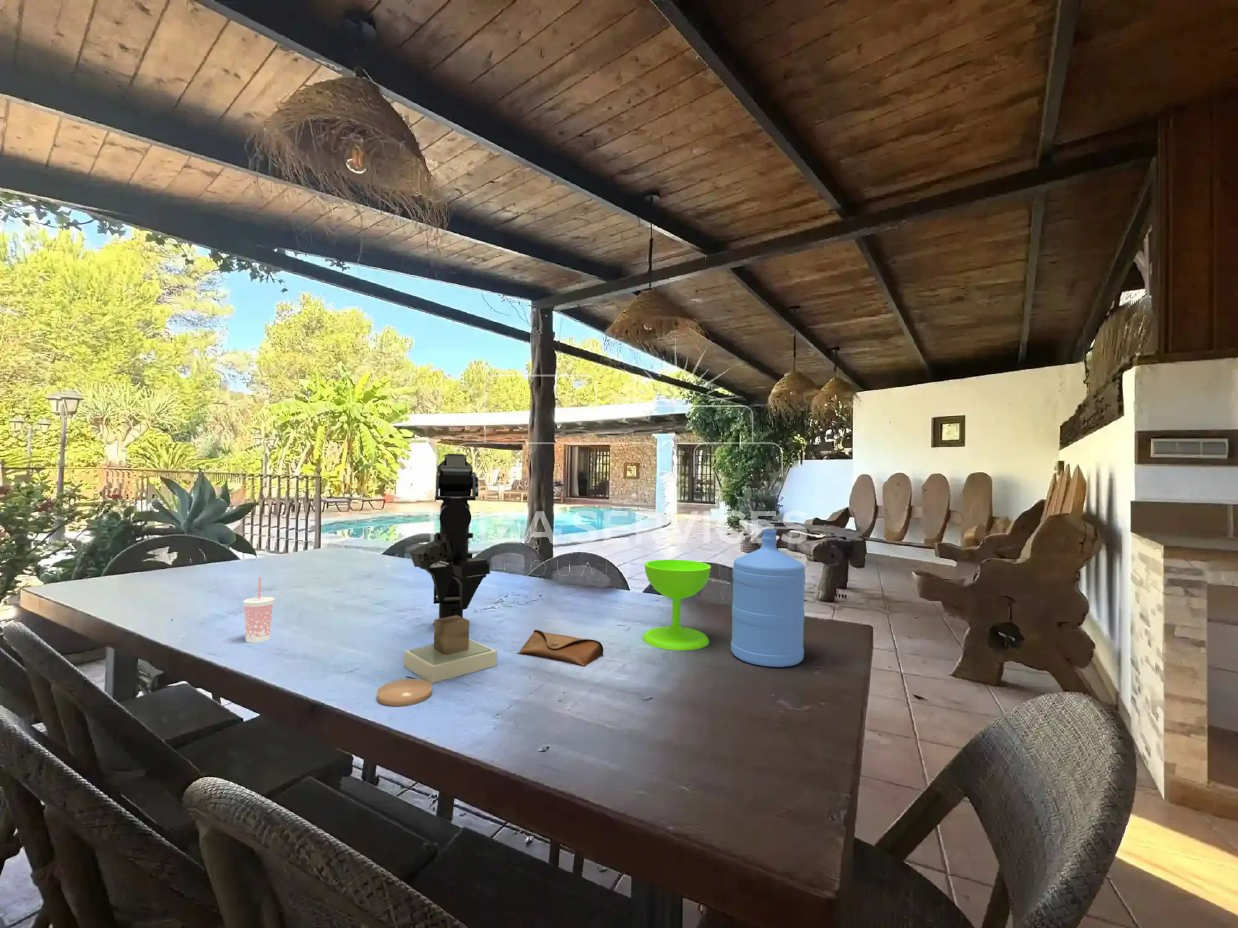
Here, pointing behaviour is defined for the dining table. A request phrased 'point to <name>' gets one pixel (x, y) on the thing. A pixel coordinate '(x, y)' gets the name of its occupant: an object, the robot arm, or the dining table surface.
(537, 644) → the sunglasses case
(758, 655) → the water jug
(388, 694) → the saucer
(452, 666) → the base
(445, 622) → the block
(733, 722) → the dining table surface
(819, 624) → the dining table surface
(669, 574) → the wineglass
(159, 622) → the dining table surface
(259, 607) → the beverage cup
